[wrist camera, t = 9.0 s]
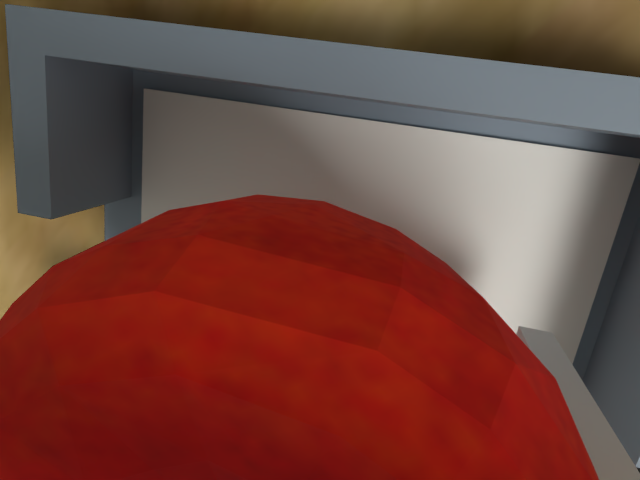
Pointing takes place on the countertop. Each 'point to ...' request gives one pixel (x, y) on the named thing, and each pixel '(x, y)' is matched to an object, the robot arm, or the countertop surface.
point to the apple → (272, 359)
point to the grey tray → (356, 159)
